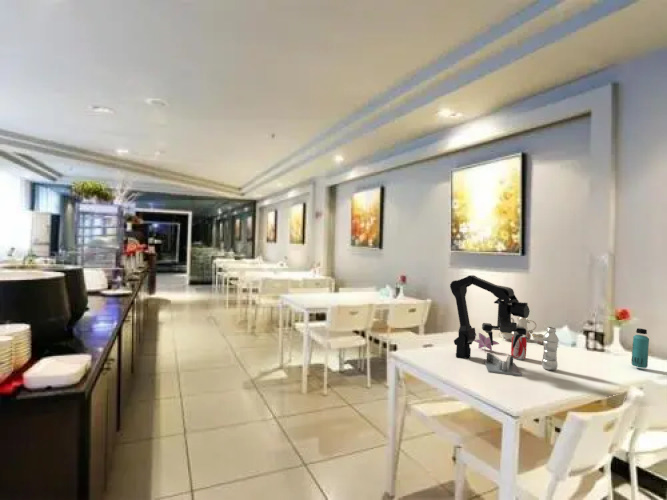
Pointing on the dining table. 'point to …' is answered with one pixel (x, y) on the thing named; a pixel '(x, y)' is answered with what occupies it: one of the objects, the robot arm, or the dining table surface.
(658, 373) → the dining table surface
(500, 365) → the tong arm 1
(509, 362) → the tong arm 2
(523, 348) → the soda can
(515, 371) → the slate rest
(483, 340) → the lily
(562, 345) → the dining table surface
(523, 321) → the chinaware
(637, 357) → the beverage bottle
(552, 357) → the plastic bottle
